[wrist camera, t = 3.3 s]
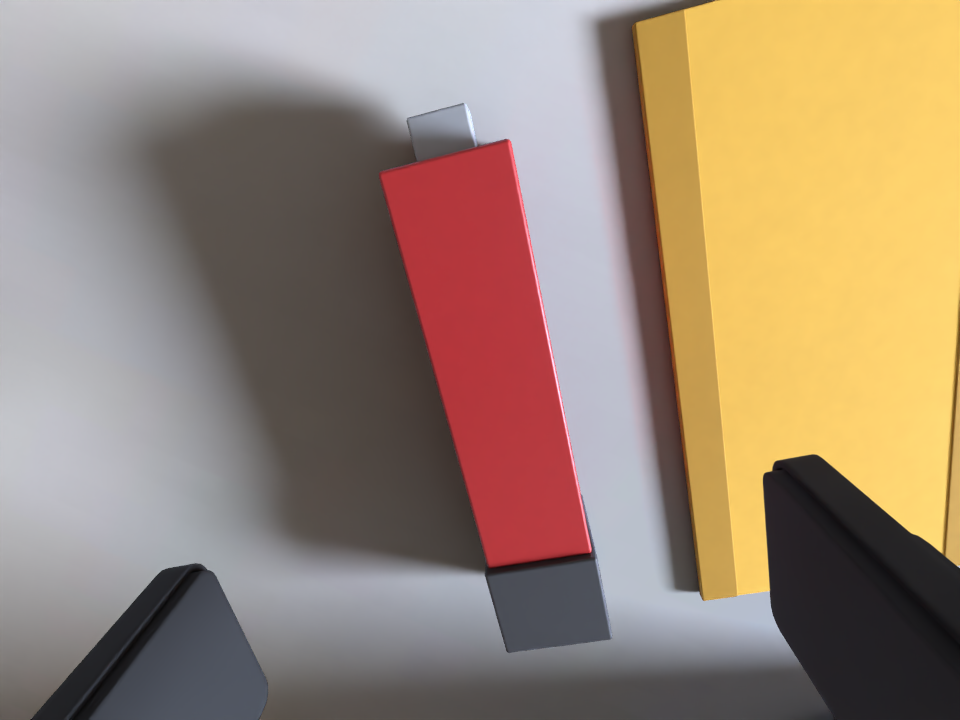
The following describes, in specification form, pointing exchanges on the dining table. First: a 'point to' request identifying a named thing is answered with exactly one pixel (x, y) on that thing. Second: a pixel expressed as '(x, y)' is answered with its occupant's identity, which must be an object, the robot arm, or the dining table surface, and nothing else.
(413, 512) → the dining table surface
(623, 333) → the dining table surface
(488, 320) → the marker
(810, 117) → the mustard cloth
